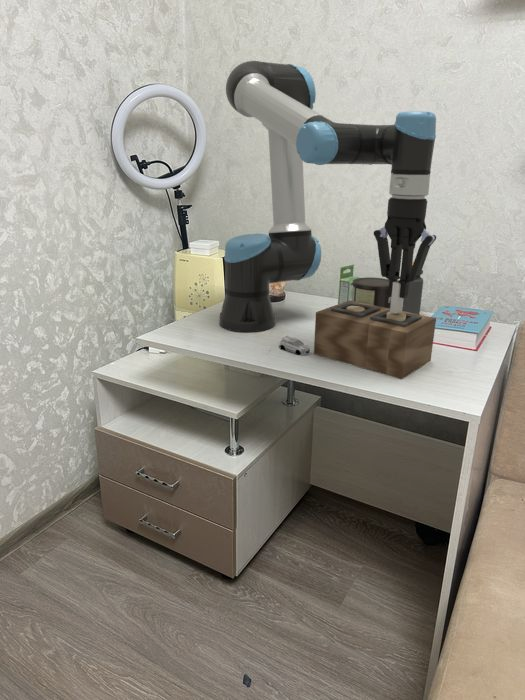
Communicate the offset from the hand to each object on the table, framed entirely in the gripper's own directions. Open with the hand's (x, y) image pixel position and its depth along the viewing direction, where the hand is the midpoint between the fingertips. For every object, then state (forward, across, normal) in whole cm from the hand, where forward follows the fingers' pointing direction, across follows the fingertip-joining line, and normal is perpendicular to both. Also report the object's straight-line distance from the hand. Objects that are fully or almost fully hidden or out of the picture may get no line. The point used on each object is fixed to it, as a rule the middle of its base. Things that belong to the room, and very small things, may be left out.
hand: (396, 311), depth 113 cm
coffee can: (+12, -13, +13) cm, 22 cm away
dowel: (+9, 0, 0) cm, 9 cm away
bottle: (+12, -14, +38) cm, 42 cm away
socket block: (+12, -5, 0) cm, 13 cm away
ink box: (+12, -28, +29) cm, 42 cm away
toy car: (+12, -20, -8) cm, 25 cm away
